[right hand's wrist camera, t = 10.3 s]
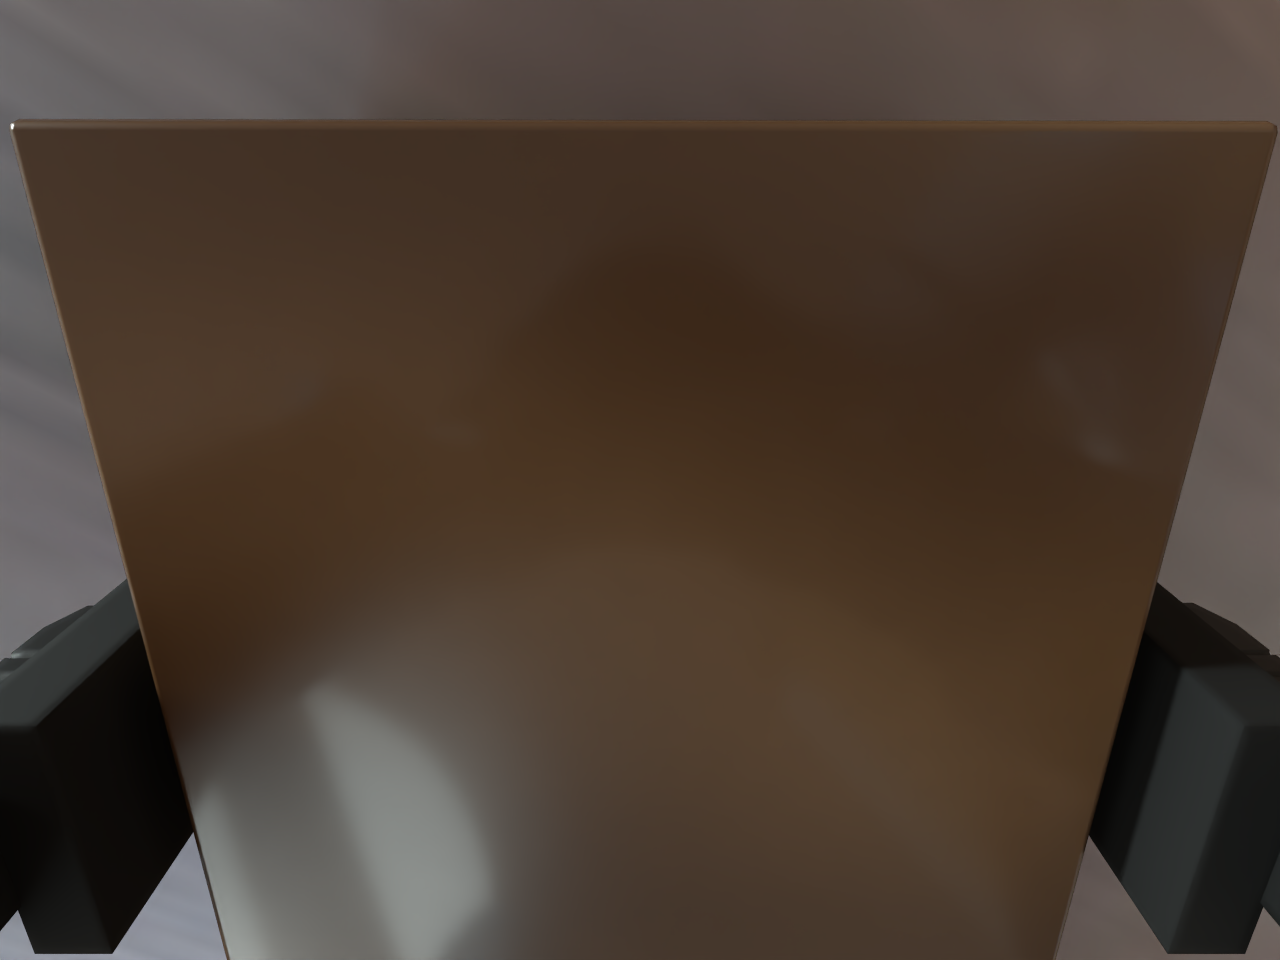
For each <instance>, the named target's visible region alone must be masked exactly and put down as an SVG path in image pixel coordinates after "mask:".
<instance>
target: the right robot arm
mask: <svg viewBox="0 0 1280 960" xmlns="http://www.w3.org/2000/svg"><path fill="white" fill-rule="evenodd" d="M192 833H193V828H192V824H191V821H190V817H189V813H188V809H187V805H186V801H185V798H184V794H183V790H182V786H181V782H180V779H179V775H178V771H177V767H176V763H175V760H174V756H173V752H172V748H171V744H170V741H169V737H168V733H167V729H166V725H165V721H164V718H163V714H162V710H161V706H160V702H159V699H158V695H157V691H156V687H155V683H154V680H153V676H152V672H151V668H150V664H149V661H148V657H147V653H146V649H145V645H144V641H143V638H142V634H141V630H140V626H139V622H138V619H137V615H136V611H135V607H134V603H133V600H132V596H131V592H130V588H129V584H128V581H127V579H126V580H125V581H124V582H123V583H121V584H120V585H119V586H118V587H116V588H115V589H114V590H113V591H112V592H110V593H109V594H108V595H107V596H105V597H104V598H103V599H102V600H101V601H99V602H98V603H97V604H96V605H94V606H86V607H84V608H82V609H80V610H78V611H76V612H74V613H72V614H70V615H68V616H66V617H64V618H62V619H60V620H58V621H56V622H54V623H52V624H50V625H48V626H46V627H44V628H43V629H42V630H40V631H39V632H38V633H36V634H35V635H34V636H33V637H31V638H30V639H29V640H28V641H26V642H25V643H24V644H22V645H21V646H20V647H19V648H17V649H16V650H15V651H14V652H12V656H11V658H5V659H3V660H2V661H1V662H0V931H1V930H2V928H3V927H4V926H5V925H6V923H7V922H8V921H9V920H10V919H11V917H12V916H13V915H14V914H15V913H16V911H17V910H18V911H19V914H20V916H21V919H22V922H23V924H24V927H25V929H26V932H27V935H28V937H29V940H30V942H31V945H32V948H33V950H34V953H35V954H112V953H113V952H114V950H115V949H116V947H117V946H118V944H119V943H120V941H121V940H122V938H123V937H124V935H125V934H126V932H127V931H128V929H129V928H130V926H131V925H132V923H133V922H134V920H135V919H136V917H137V916H138V914H139V913H140V911H141V910H142V908H143V907H144V905H145V904H146V902H147V901H148V899H149V898H150V896H151V895H152V893H153V892H154V890H155V889H156V887H157V886H158V884H159V883H160V881H161V880H162V878H163V877H164V875H165V874H166V872H167V871H168V869H169V868H170V866H171V865H172V863H173V862H174V860H175V859H176V857H177V856H178V854H179V853H180V851H181V850H182V848H183V847H184V845H185V844H186V842H187V841H188V839H189V838H190V836H191V834H192ZM1089 836H1090V838H1091V839H1092V841H1093V842H1094V844H1095V845H1096V847H1097V848H1098V850H1099V851H1100V853H1101V854H1102V856H1103V857H1104V859H1105V860H1106V862H1107V863H1108V865H1109V866H1110V868H1111V869H1112V871H1113V872H1114V874H1115V875H1116V877H1117V878H1118V880H1119V881H1120V883H1121V884H1122V886H1123V887H1124V889H1125V890H1126V892H1127V893H1128V895H1129V896H1130V898H1131V899H1132V901H1133V902H1134V904H1135V905H1136V907H1137V908H1138V910H1139V911H1140V913H1141V914H1142V916H1143V917H1144V919H1145V920H1146V922H1147V923H1148V925H1149V926H1150V928H1151V929H1152V931H1153V932H1154V934H1155V935H1156V937H1157V938H1158V940H1159V941H1160V943H1161V944H1162V946H1163V947H1164V949H1165V950H1166V952H1167V953H1168V954H1245V953H1246V950H1247V948H1248V945H1249V942H1250V940H1251V937H1252V935H1253V932H1254V929H1255V927H1256V924H1257V922H1258V919H1259V916H1260V914H1261V911H1262V909H1263V907H1264V908H1265V909H1266V910H1267V912H1268V913H1269V914H1270V915H1271V916H1272V918H1273V919H1274V920H1275V921H1276V922H1277V924H1278V925H1279V926H1280V658H1279V657H1278V656H1276V655H1270V653H1269V649H1267V648H1266V647H1265V646H1264V645H1262V644H1261V643H1260V642H1259V641H1257V640H1256V639H1255V638H1253V637H1252V636H1251V635H1250V634H1248V633H1247V632H1246V631H1244V630H1243V629H1242V628H1241V627H1239V626H1238V625H1237V624H1235V623H1233V622H1231V621H1229V620H1227V619H1224V618H1222V617H1220V616H1218V615H1216V614H1214V613H1212V612H1210V611H1208V610H1206V609H1204V608H1202V607H1200V606H1198V605H1196V604H1194V603H1182V602H1181V601H1179V600H1178V599H1177V598H1176V597H1175V596H1173V595H1172V594H1171V593H1170V592H1168V591H1167V590H1166V589H1165V588H1164V587H1162V586H1161V585H1160V584H1159V583H1156V587H1155V590H1154V594H1153V598H1152V602H1151V605H1150V609H1149V613H1148V616H1147V620H1146V624H1145V628H1144V631H1143V635H1142V639H1141V642H1140V646H1139V650H1138V654H1137V657H1136V661H1135V665H1134V669H1133V672H1132V676H1131V680H1130V683H1129V687H1128V691H1127V695H1126V698H1125V702H1124V706H1123V709H1122V713H1121V717H1120V721H1119V724H1118V728H1117V732H1116V736H1115V739H1114V743H1113V747H1112V750H1111V754H1110V758H1109V762H1108V765H1107V769H1106V773H1105V776H1104V780H1103V784H1102V788H1101V791H1100V795H1099V799H1098V803H1097V806H1096V810H1095V814H1094V817H1093V821H1092V825H1091V829H1090V832H1089Z"/></svg>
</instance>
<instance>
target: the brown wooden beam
mask: <svg viewBox="0 0 1280 960" xmlns="http://www.w3.org/2000/svg"><path fill="white" fill-rule="evenodd" d="M9 131H10V135H11V139H12V142H13V146H14V150H15V154H16V158H17V161H18V165H19V169H20V173H21V177H22V181H23V184H24V188H25V192H26V196H27V200H28V203H29V207H30V211H31V215H32V219H33V222H34V226H35V230H36V234H37V238H38V241H39V245H40V249H41V253H42V257H43V261H44V264H45V268H46V272H47V276H48V280H49V283H50V287H51V291H52V295H53V299H54V302H55V306H56V310H57V314H58V318H59V321H60V325H61V329H62V333H63V337H64V341H65V344H66V348H67V352H68V356H69V360H70V363H71V367H72V371H73V375H74V379H75V382H76V386H77V390H78V394H79V398H80V401H81V405H82V409H83V413H84V417H85V421H86V424H87V428H88V432H89V436H90V440H91V443H92V447H93V451H94V455H95V459H96V462H97V466H98V470H99V474H100V478H101V481H102V485H103V489H104V493H105V497H106V501H107V504H108V508H109V512H110V516H111V520H112V523H113V527H114V531H115V535H116V539H117V542H118V546H119V550H120V554H121V558H122V561H123V565H124V569H125V573H126V577H127V581H128V584H129V588H130V592H131V596H132V600H133V603H134V607H135V611H136V615H137V619H138V622H139V626H140V630H141V634H142V638H143V641H144V645H145V649H146V653H147V657H148V661H149V664H150V668H151V672H152V676H153V680H154V683H155V687H156V691H157V695H158V699H159V702H160V706H161V710H162V714H163V718H164V721H165V725H166V729H167V733H168V737H169V741H170V744H171V748H172V752H173V756H174V760H175V763H176V767H177V771H178V775H179V779H180V782H181V786H182V790H183V794H184V798H185V801H186V805H187V809H188V813H189V817H190V821H191V824H192V828H193V832H194V836H195V840H196V843H197V847H198V851H199V855H200V859H201V862H202V866H203V870H204V874H205V878H206V881H207V885H208V889H209V893H210V897H211V901H212V904H213V908H214V912H215V916H216V920H217V923H218V927H219V931H220V935H221V939H222V942H223V946H224V950H225V954H226V958H227V960H1055V959H1056V955H1057V951H1058V948H1059V944H1060V940H1061V937H1062V933H1063V929H1064V925H1065V922H1066V918H1067V914H1068V910H1069V907H1070V903H1071V899H1072V896H1073V892H1074V888H1075V884H1076V881H1077V877H1078V873H1079V870H1080V866H1081V862H1082V858H1083V855H1084V851H1085V847H1086V843H1087V840H1088V836H1089V832H1090V829H1091V825H1092V821H1093V817H1094V814H1095V810H1096V806H1097V803H1098V799H1099V795H1100V791H1101V788H1102V784H1103V780H1104V776H1105V773H1106V769H1107V765H1108V762H1109V758H1110V754H1111V750H1112V747H1113V743H1114V739H1115V736H1116V732H1117V728H1118V724H1119V721H1120V717H1121V713H1122V709H1123V706H1124V702H1125V698H1126V695H1127V691H1128V687H1129V683H1130V680H1131V676H1132V672H1133V669H1134V665H1135V661H1136V657H1137V654H1138V650H1139V646H1140V642H1141V639H1142V635H1143V631H1144V628H1145V624H1146V620H1147V616H1148V613H1149V609H1150V605H1151V602H1152V598H1153V594H1154V590H1155V587H1156V583H1157V579H1158V575H1159V572H1160V568H1161V564H1162V561H1163V557H1164V553H1165V549H1166V546H1167V542H1168V538H1169V535H1170V531H1171V527H1172V523H1173V520H1174V516H1175V512H1176V508H1177V505H1178V501H1179V497H1180V494H1181V490H1182V486H1183V482H1184V479H1185V475H1186V471H1187V468H1188V464H1189V460H1190V456H1191V453H1192V449H1193V445H1194V441H1195V438H1196V434H1197V430H1198V427H1199V423H1200V419H1201V415H1202V412H1203V408H1204V404H1205V401H1206V397H1207V393H1208V389H1209V386H1210V382H1211V378H1212V374H1213V371H1214V367H1215V363H1216V360H1217V356H1218V352H1219V348H1220V345H1221V341H1222V337H1223V334H1224V330H1225V326H1226V322H1227V319H1228V315H1229V311H1230V307H1231V304H1232V300H1233V296H1234V293H1235V289H1236V285H1237V281H1238V278H1239V274H1240V270H1241V266H1242V263H1243V259H1244V255H1245V252H1246V248H1247V244H1248V240H1249V237H1250V233H1251V229H1252V226H1253V222H1254V218H1255V214H1256V211H1257V207H1258V203H1259V199H1260V196H1261V192H1262V188H1263V185H1264V181H1265V177H1266V173H1267V170H1268V166H1269V162H1270V159H1271V155H1272V151H1273V147H1274V144H1275V140H1276V136H1277V126H1276V125H1274V124H1272V123H1270V122H1268V121H845V120H291V119H19V120H17V121H15V122H13V123H11V124H10V129H9Z"/></svg>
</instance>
